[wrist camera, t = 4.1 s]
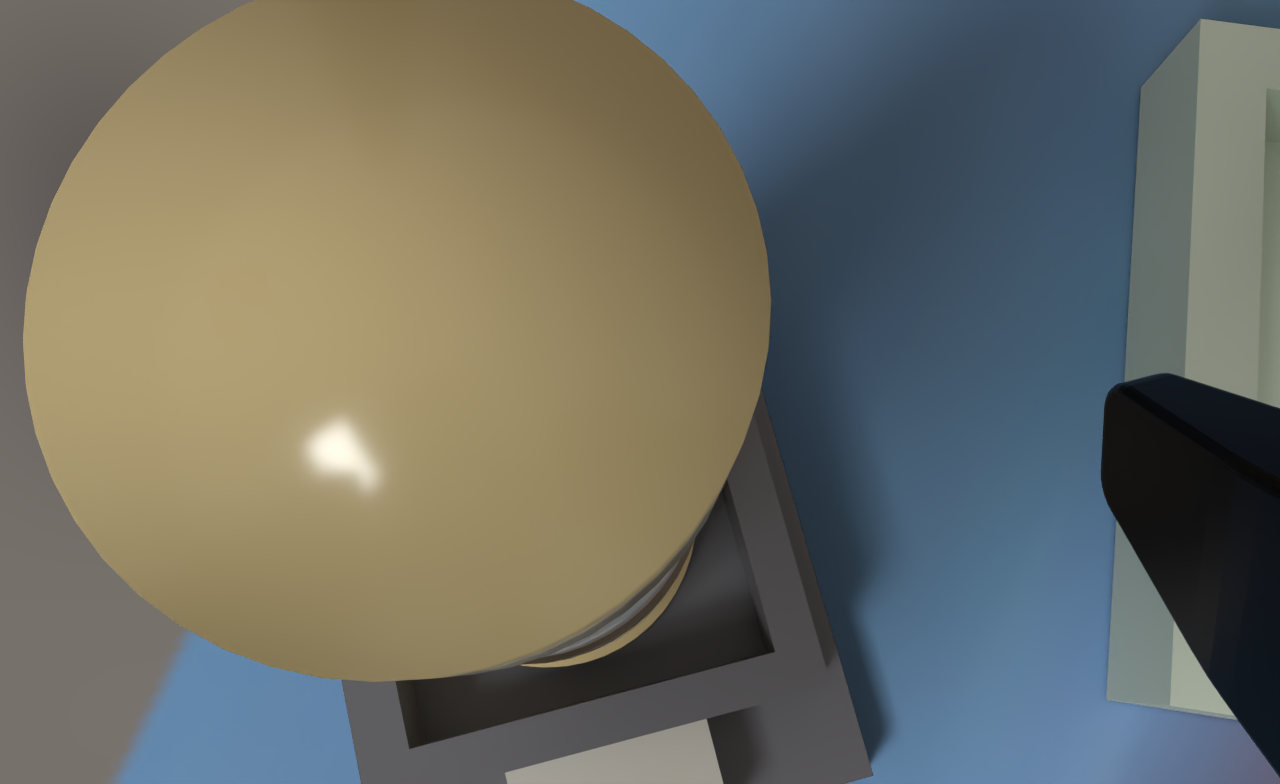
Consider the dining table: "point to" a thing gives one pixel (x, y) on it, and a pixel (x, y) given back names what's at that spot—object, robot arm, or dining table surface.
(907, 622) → the dining table surface
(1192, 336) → the parts tray
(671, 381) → the beige round cylinder
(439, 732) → the fuse block
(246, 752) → the dining table surface
